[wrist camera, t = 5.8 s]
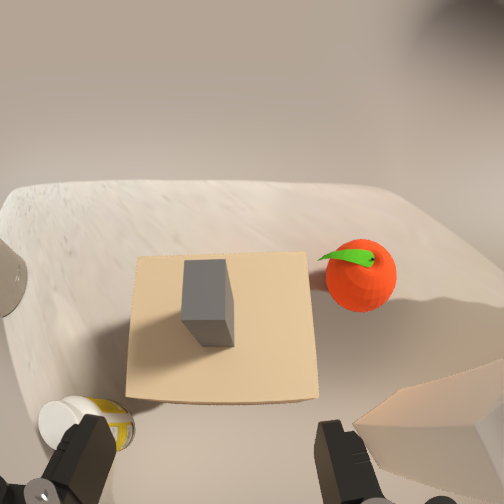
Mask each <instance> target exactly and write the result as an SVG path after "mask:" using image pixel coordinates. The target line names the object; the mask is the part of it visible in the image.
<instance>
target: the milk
mask: <svg viewBox="0 0 504 504" xmlns="http://www.w3.org/2000/svg"><path fill="white" fill-rule="evenodd" d="M353 426H354V427H355V429H356V430H357V432H358V434H359V436H360V437H361V439H362V440H363V442H364V444H365V445H366V447H367V448H368V450H369V452H370V453H371V455H372V456H373V458H374V460H375V461H376V463H377V465H378V466H379V468H380V469H383V470H386V471H388V472H391V473H393V474H396V475H399V476H402V477H404V478H407V479H410V480H413V481H416V482H419V483H422V484H425V485H428V486H431V487H435V488H438V489H441V490H445V491H448V492H452V493H455V494H459V495H463V496H467V497H471V498H475V499H479V500H484V501H488V502H493V503H498V504H504V358H501V359H499V360H496V361H493V362H491V363H488V364H485V365H482V366H480V367H477V368H474V369H471V370H467V371H464V372H461V373H458V374H455V375H452V376H448V377H445V378H441V379H438V380H434V381H431V382H427V383H423V384H419V385H415V386H411V387H408V388H403V389H399V390H398V391H397V392H395V393H394V394H393V395H391V396H390V397H389V398H387V399H386V400H385V401H383V402H382V403H381V404H379V405H378V406H377V407H375V408H374V409H372V410H371V411H370V412H368V413H367V414H365V415H364V416H362V417H361V418H359V419H358V420H357V421H355V422H354V423H353Z"/></svg>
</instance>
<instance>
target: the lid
mask: <svg viewBox="0 0 504 504" xmlns="http://www.w3.org/2000/svg"><path fill="white" fill-rule="evenodd" d="M126 397H130V398H140V399H152V400H165V401H183V402H269V401H287V400H301V399H313V398H319V389H318V374H317V361H316V348H315V336H314V325H313V314H312V305H311V295H310V285H309V276H308V267H307V259H306V251H296V252H267V253H237V254H206V255H176V256H145V257H138V262H137V269H136V276H135V284H134V292H133V300H132V310H131V319H130V330H129V342H128V356H127V374H126Z"/></svg>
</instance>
